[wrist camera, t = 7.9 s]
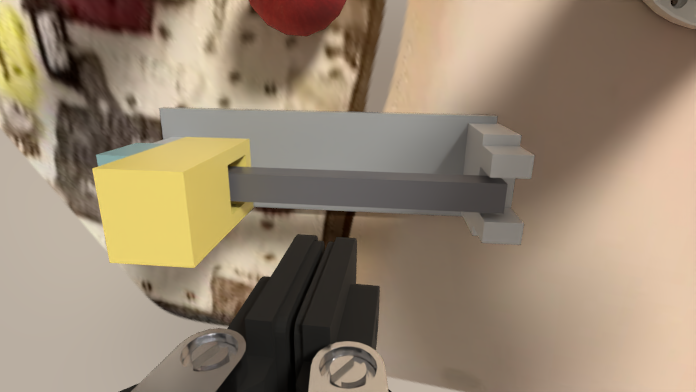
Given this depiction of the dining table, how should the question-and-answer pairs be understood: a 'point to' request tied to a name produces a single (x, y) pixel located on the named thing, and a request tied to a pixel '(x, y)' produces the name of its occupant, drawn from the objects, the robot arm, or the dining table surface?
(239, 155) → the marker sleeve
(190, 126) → the grey long frame
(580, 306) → the dining table surface
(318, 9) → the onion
